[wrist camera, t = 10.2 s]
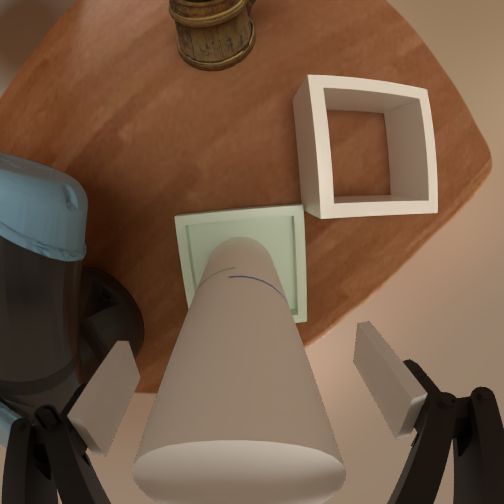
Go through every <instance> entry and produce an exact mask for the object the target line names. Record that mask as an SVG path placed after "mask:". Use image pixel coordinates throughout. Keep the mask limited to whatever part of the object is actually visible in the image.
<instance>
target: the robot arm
mask: <svg viewBox="0 0 504 504" xmlns="http://www.w3.org/2000/svg"><path fill="white" fill-rule="evenodd" d="M87 212H88V199H87V195H86V192H85V190H84V189H83V187H82V186H81V184H80V183H79V182H78V181H77V180H75V179H74V178H73V177H71V176H69V175H67V174H65V173H63V172H61V171H59V170H56V169H54V168H51V167H48V166H46V165H43V164H40V163H37V162H34V161H31V160H28V159H24V158H21V157H17V156H13V155H10V154H5V153H1V152H0V444H1V445H3V446H4V447H5V448H6V449H7V451H6V458H5V466H4V474H3V486H2V504H58V496H57V489H58V492H59V495H60V498H61V501H62V504H111V503H110V501H109V499H108V497H107V495H106V493H105V491H104V490H103V488H102V486H101V484H100V481H99V479H98V477H97V475H96V473H95V471H94V469H93V467H92V465H91V462H90V459H89V457H88V455H87V454H86V452H85V451H86V449H87V447H88V448H89V449H90V451H91V452H92V453H93V454H95V455H99V456H104V457H106V456H107V453H108V451H109V448H110V446H111V444H112V441H113V439H114V437H115V434H116V432H117V429H118V427H119V425H120V423H121V420H122V418H123V416H124V413H125V411H126V409H127V407H128V405H129V402H130V400H131V398H132V395H133V393H134V391H135V389H136V387H137V385H138V383H139V380H140V378H141V377H140V374H139V371H138V368H137V366H136V363H135V359H136V357H137V355H138V353H139V352H140V350H141V348H142V345H143V341H144V325H143V320H142V317H141V314H140V311H139V309H138V307H137V305H136V303H135V301H134V300H133V298H132V297H131V295H130V294H129V293H128V292H127V290H126V289H125V288H124V287H123V286H122V285H121V284H120V283H119V282H118V281H116V280H115V279H114V278H113V277H111V276H110V275H108V274H106V273H104V272H102V271H100V270H97V269H94V268H89V267H82V261H83V259H84V256H85V255H86V244H85V232H86V221H87ZM353 362H354V364H355V366H356V368H357V369H358V371H359V373H360V375H361V376H362V378H363V380H364V382H365V383H366V385H367V387H368V389H369V391H370V392H371V394H372V396H373V398H374V400H375V402H376V403H377V405H378V407H379V409H380V411H381V413H382V414H383V416H384V418H385V420H386V422H387V424H388V426H389V427H390V429H391V431H392V433H393V435H394V437H395V439H396V440H398V439H401V438H403V437H406V436H409V435H411V432H412V430H413V428H415V429H416V431H417V434H416V437H415V439H414V441H413V443H412V445H411V446H412V448H411V451H410V453H409V456H408V459H407V461H406V464H405V466H404V468H403V471H402V473H401V475H400V478H399V480H398V482H397V484H396V487H395V489H394V491H393V493H392V495H391V497H390V499H389V501H388V503H387V504H433V503H434V501H435V498H436V495H437V492H438V489H439V486H440V483H441V479H442V476H443V473H444V469H445V466H446V462H447V458H448V454H449V450H450V446H451V441H452V439H453V451H454V499H453V504H504V428H503V424H502V420H501V416H500V413H499V409H498V406H497V402H496V399H495V395H494V394H493V392H492V391H491V390H490V389H488V388H486V387H477V388H476V389H474V390H473V391H472V393H471V395H470V396H469V397H463V398H456V397H455V396H454V395H452V394H450V393H447V392H441V391H440V390H439V389H438V387H437V386H436V385H435V384H434V383H433V381H432V380H431V379H430V378H429V377H428V376H427V374H426V373H425V372H424V371H423V370H422V368H421V367H420V366H419V365H418V364H417V363H415V362H413V361H412V360H410V359H409V360H405V361H401V359H400V358H399V357H398V355H397V354H396V353H395V352H394V350H393V349H392V348H391V347H390V345H389V344H388V343H387V342H386V341H385V339H384V338H383V337H382V336H381V335H380V333H379V332H378V331H377V330H376V329H375V327H374V326H373V325H372V324H371V323H370V322H369V321H368V322H362V323H357V333H356V342H355V351H354V360H353Z"/></svg>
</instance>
